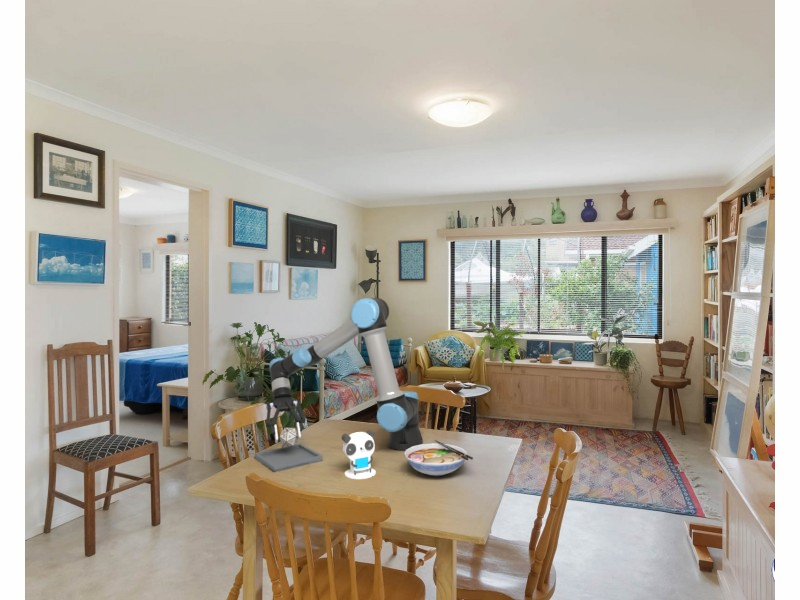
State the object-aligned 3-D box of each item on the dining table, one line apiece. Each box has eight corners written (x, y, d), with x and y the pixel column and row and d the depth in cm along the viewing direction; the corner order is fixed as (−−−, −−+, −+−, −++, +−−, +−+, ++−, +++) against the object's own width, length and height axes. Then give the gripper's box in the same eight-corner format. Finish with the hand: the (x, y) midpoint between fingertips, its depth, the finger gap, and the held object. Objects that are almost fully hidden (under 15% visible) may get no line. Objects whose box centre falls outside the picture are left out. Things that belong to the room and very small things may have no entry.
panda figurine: (349, 481, 176) (348, 439, 175) (338, 471, 186) (337, 431, 186) (380, 475, 181) (379, 434, 181) (368, 466, 191) (368, 426, 191)
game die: (293, 454, 202) (308, 433, 204) (287, 453, 194) (302, 431, 196) (276, 442, 204) (290, 421, 207) (269, 440, 196) (284, 418, 199)
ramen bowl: (393, 466, 190) (393, 445, 190) (447, 457, 199) (446, 437, 199) (422, 490, 167) (422, 466, 167) (481, 479, 176) (481, 456, 176)
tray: (322, 460, 198) (322, 455, 198) (274, 472, 186) (273, 466, 186) (300, 448, 214) (300, 443, 214) (254, 458, 202) (254, 453, 202)
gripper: (305, 394, 218) (313, 441, 203) (255, 398, 210) (260, 448, 196) (307, 384, 213) (316, 431, 198) (256, 388, 205) (261, 438, 191)
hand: (288, 439), depth 197 cm, fingers closed on game die, 8 cm apart
